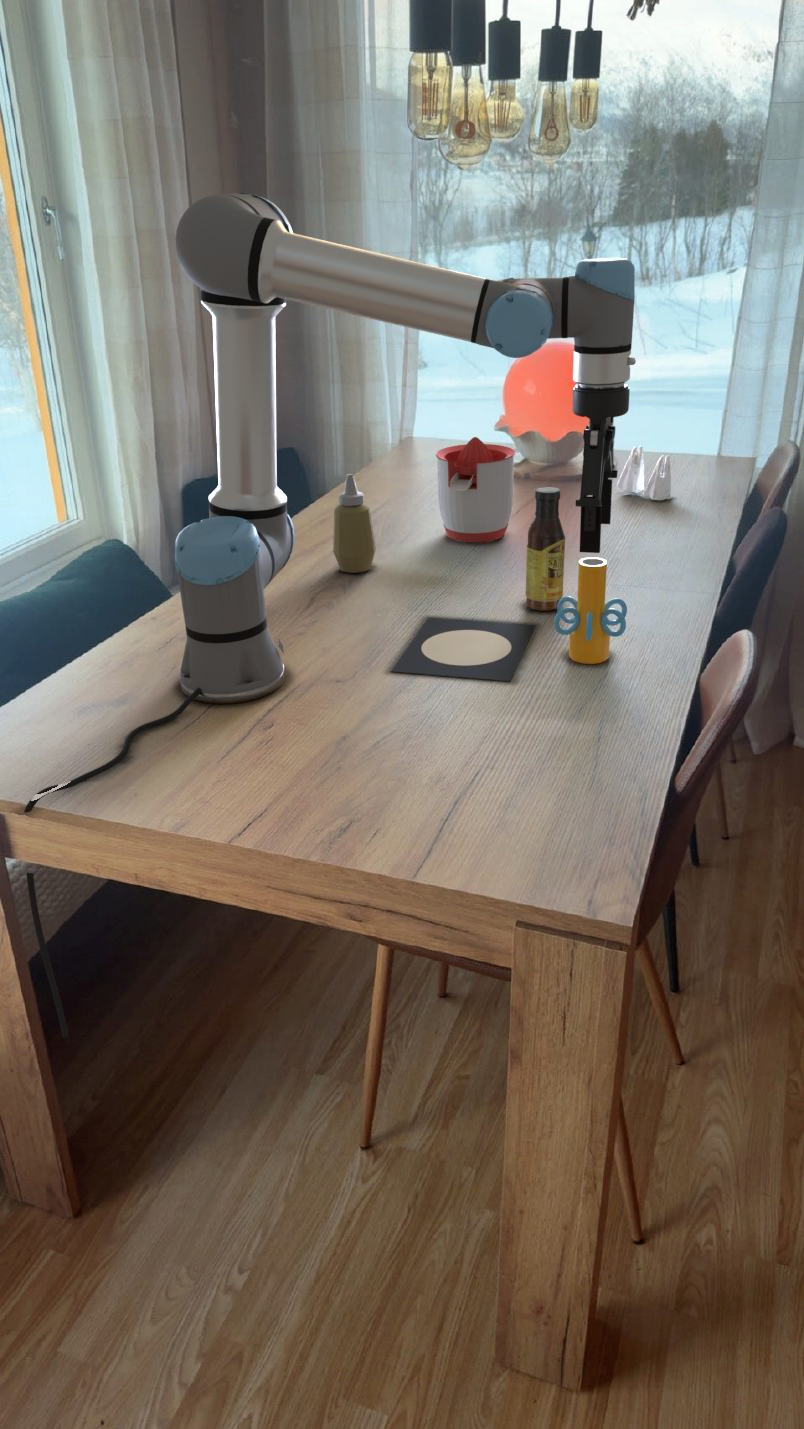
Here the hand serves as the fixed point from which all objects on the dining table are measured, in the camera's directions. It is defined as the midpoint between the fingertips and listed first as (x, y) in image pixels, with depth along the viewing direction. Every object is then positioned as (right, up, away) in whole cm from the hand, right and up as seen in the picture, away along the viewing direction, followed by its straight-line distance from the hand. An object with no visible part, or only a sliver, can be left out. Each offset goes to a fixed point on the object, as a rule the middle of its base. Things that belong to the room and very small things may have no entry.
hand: (595, 537), depth 151 cm
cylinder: (+1, -17, +9) cm, 19 cm away
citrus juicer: (-13, +11, +64) cm, 66 cm away
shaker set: (+26, +23, +86) cm, 93 cm away
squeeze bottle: (-37, +2, +49) cm, 61 cm away
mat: (-18, -15, +13) cm, 27 cm away
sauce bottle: (-4, -7, +28) cm, 29 cm away
